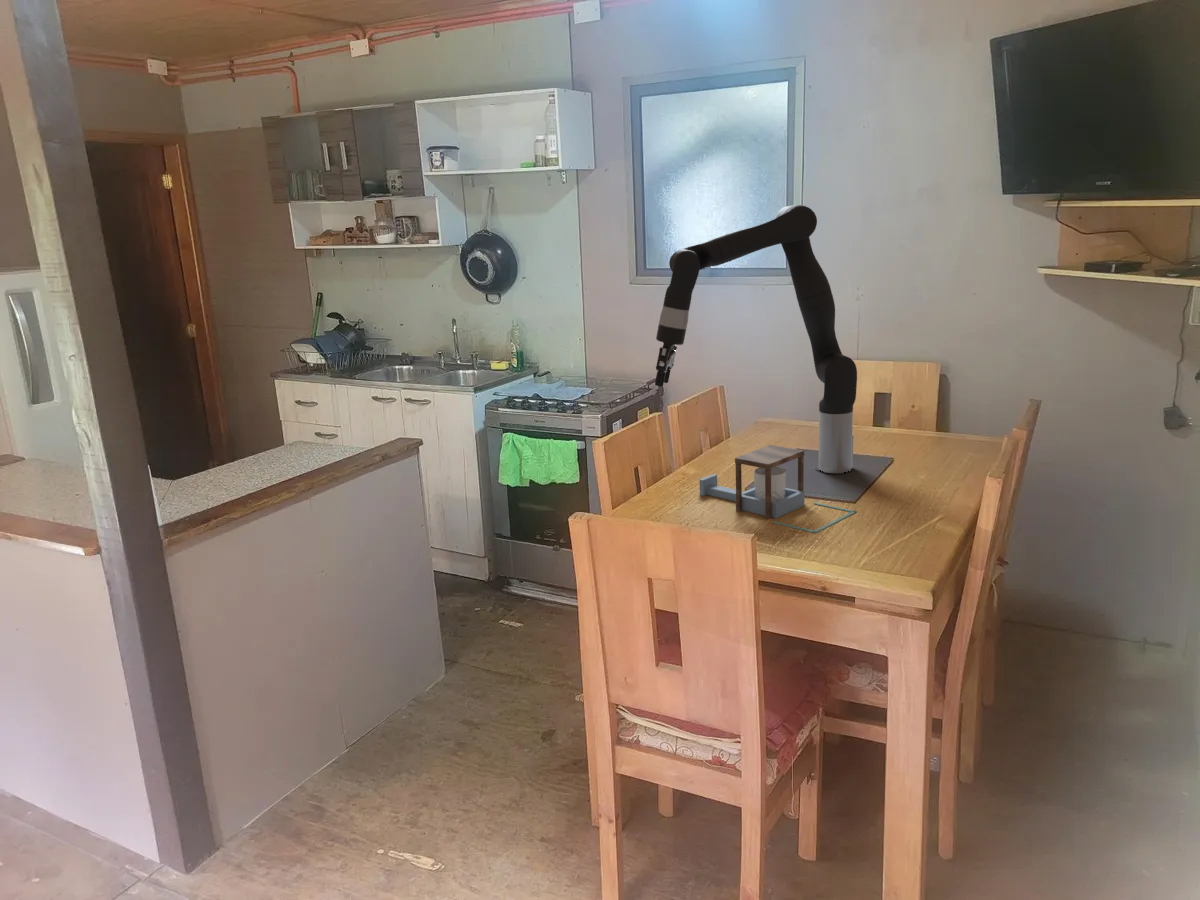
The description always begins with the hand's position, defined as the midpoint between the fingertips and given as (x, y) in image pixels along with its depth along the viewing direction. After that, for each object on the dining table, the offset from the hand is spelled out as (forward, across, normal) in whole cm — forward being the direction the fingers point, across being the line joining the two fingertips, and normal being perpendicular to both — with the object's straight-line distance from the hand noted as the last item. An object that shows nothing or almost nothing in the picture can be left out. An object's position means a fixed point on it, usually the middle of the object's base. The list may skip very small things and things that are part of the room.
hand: (661, 384), depth 236 cm
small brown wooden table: (+23, -16, -36) cm, 45 cm away
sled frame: (+24, -13, -29) cm, 40 cm away
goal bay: (+21, -23, -46) cm, 56 cm away
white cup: (+23, -16, -36) cm, 45 cm away
